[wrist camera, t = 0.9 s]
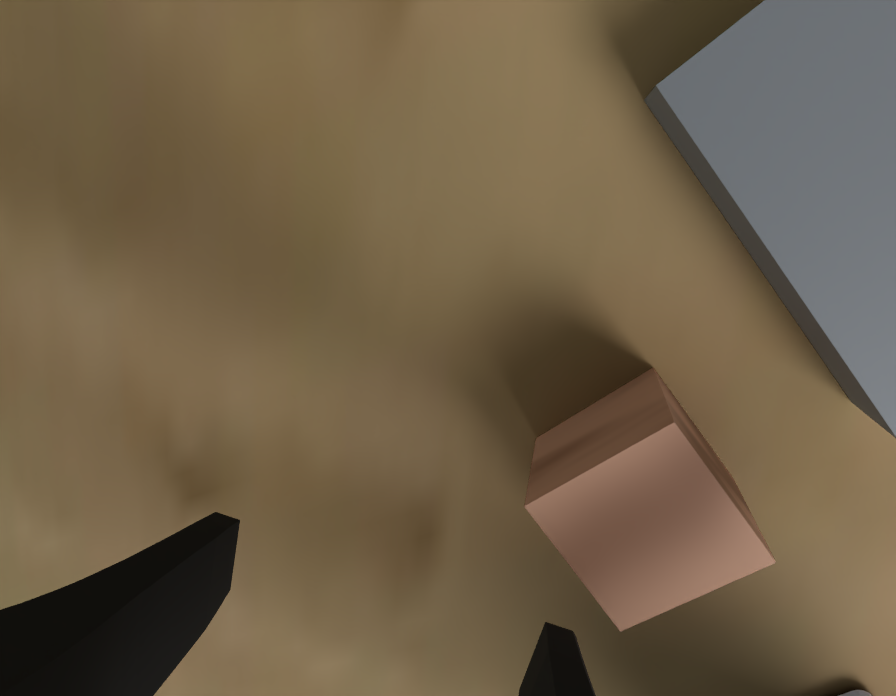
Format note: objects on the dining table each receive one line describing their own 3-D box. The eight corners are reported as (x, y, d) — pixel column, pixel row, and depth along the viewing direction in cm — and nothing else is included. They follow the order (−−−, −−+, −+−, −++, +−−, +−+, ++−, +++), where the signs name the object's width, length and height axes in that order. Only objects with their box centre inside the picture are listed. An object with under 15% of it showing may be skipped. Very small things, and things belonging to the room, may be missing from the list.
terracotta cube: (732, 476, 21) (776, 562, 16) (612, 537, 23) (620, 631, 18) (652, 366, 20) (674, 422, 16) (536, 437, 22) (524, 506, 17)
